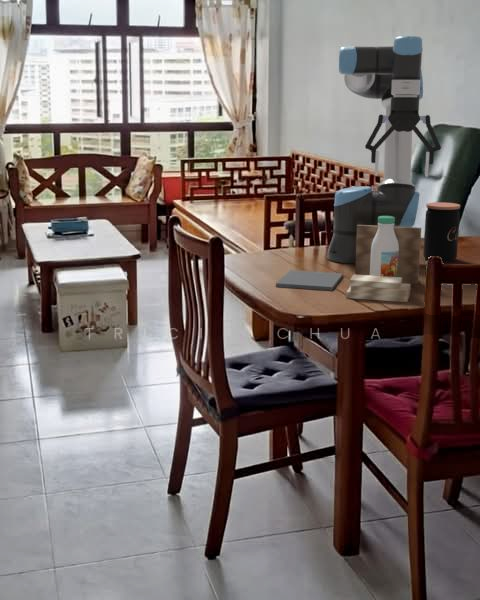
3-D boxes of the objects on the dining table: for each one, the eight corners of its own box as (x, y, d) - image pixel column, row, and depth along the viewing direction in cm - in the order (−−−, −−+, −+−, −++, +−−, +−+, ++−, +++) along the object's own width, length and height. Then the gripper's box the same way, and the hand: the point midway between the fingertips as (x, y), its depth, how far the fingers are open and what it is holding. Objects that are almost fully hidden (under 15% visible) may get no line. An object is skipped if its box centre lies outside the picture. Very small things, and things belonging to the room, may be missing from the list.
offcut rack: (342, 297, 225) (344, 238, 221) (357, 276, 249) (359, 223, 245) (410, 302, 220) (414, 242, 216) (419, 280, 244) (422, 226, 240)
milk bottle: (368, 290, 233) (372, 218, 228) (369, 283, 240) (372, 214, 235) (397, 291, 232) (400, 219, 227) (396, 284, 239) (400, 215, 234)
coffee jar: (450, 264, 267) (454, 207, 263) (418, 260, 273) (421, 205, 268) (460, 258, 276) (464, 203, 272) (429, 255, 282) (432, 201, 277)
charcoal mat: (275, 286, 236) (275, 283, 236) (290, 273, 253) (290, 270, 253) (332, 290, 232) (332, 287, 232) (342, 276, 249) (343, 273, 249)
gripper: (357, 96, 225) (354, 176, 230) (453, 96, 221) (448, 178, 226) (359, 96, 232) (356, 173, 237) (452, 96, 228) (447, 175, 233)
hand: (401, 176), depth 231 cm, fingers open, 13 cm apart
